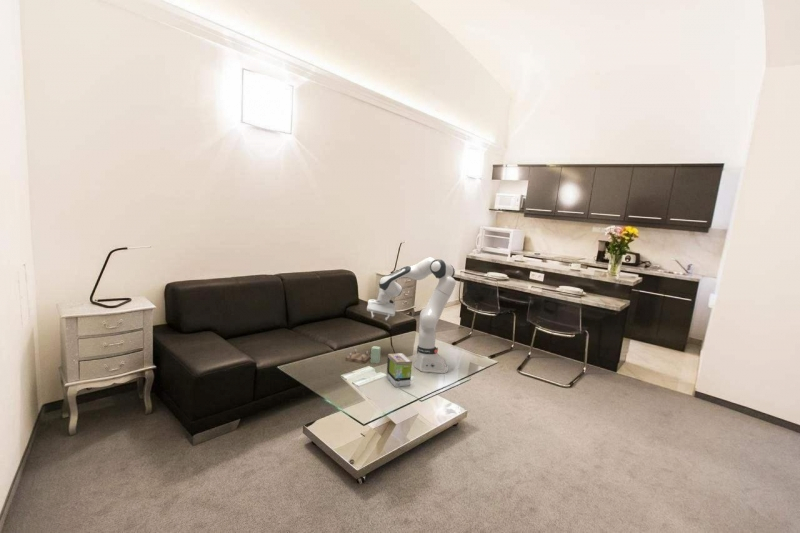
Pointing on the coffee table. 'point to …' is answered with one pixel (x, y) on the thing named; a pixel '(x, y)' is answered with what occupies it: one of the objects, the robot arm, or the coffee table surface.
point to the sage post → (375, 354)
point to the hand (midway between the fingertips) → (379, 318)
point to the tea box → (399, 369)
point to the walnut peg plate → (358, 357)
